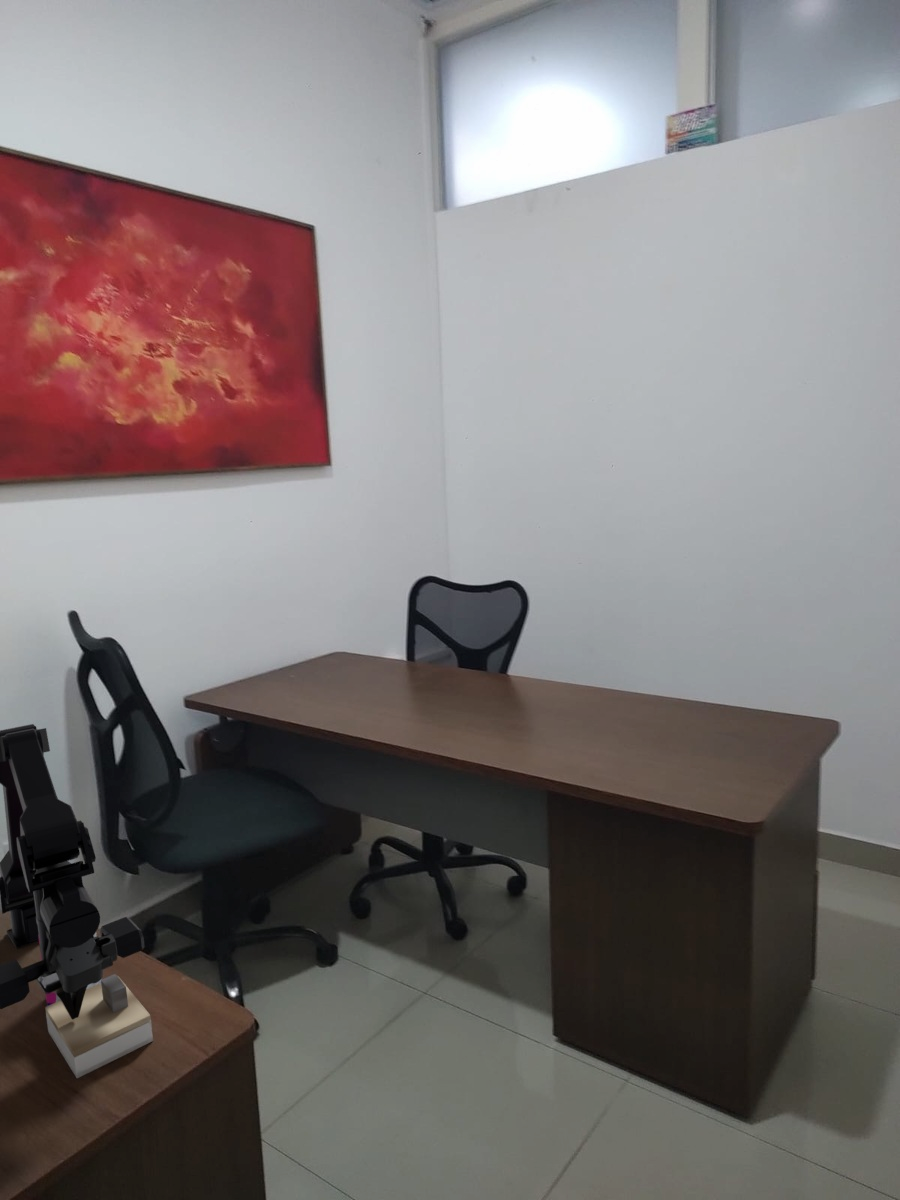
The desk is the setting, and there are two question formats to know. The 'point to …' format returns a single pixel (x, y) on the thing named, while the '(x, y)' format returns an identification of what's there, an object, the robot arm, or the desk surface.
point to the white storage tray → (102, 1048)
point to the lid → (99, 1016)
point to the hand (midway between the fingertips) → (74, 1017)
